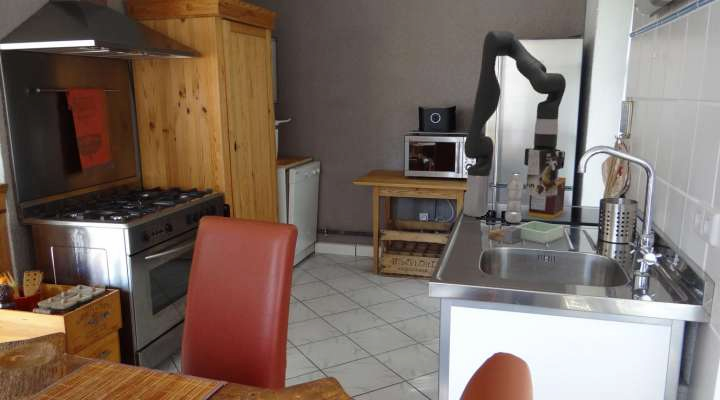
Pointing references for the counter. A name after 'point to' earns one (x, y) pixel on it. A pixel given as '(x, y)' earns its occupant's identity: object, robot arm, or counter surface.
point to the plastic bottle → (514, 199)
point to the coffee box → (541, 173)
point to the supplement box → (548, 203)
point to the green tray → (540, 232)
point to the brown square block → (497, 235)
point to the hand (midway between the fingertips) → (542, 179)
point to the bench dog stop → (512, 235)
